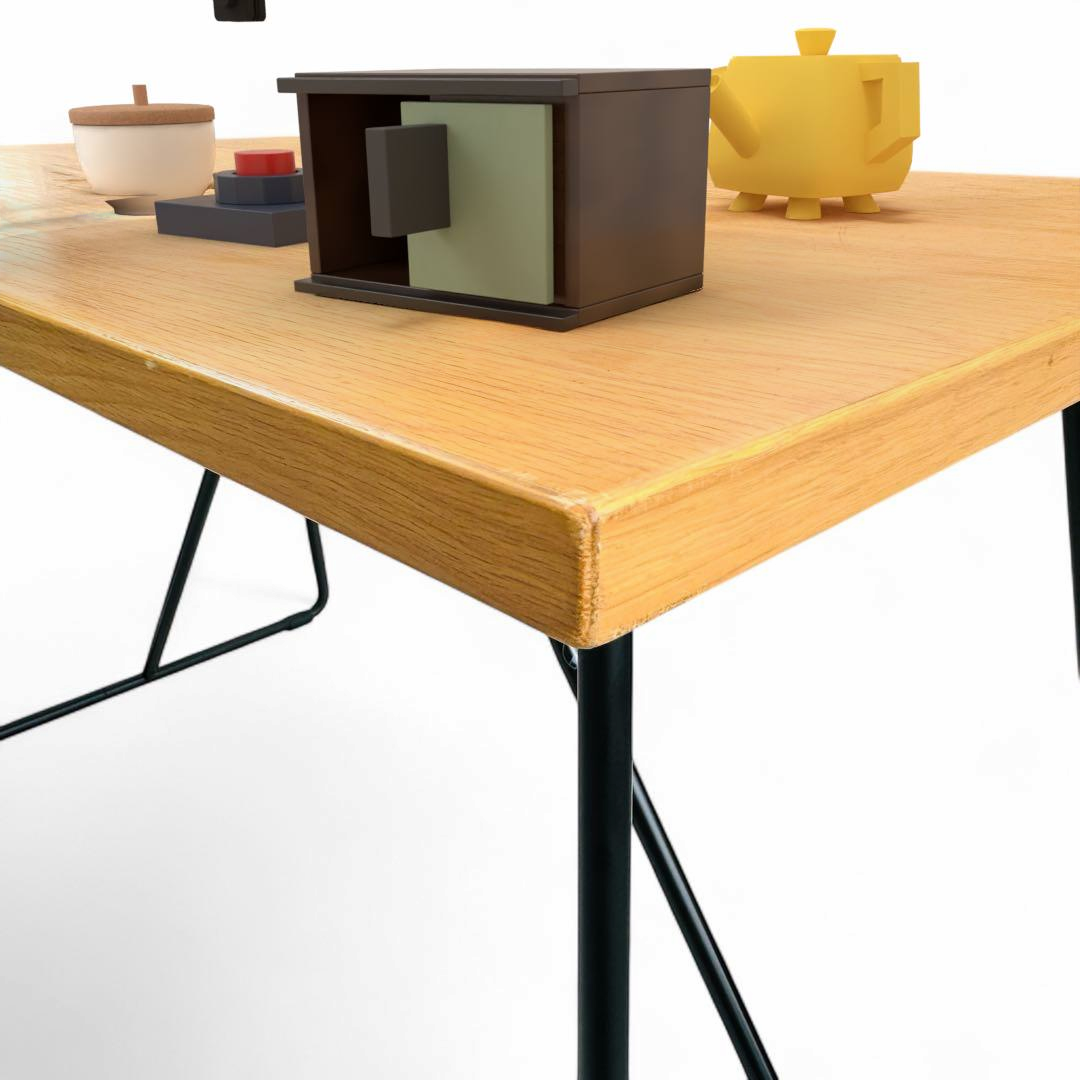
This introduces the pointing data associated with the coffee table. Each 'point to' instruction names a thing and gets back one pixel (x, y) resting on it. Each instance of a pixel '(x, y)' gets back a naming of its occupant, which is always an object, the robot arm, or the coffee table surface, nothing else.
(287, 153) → the button
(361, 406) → the coffee table surface
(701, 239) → the cupboard
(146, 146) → the trinket box
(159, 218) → the control block
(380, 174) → the sliding door
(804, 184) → the teapot
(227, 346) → the coffee table surface
